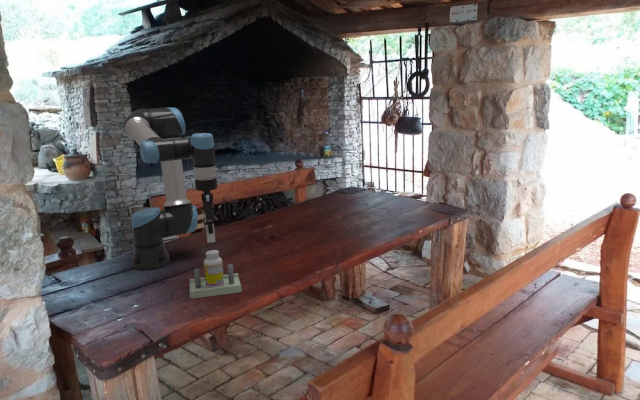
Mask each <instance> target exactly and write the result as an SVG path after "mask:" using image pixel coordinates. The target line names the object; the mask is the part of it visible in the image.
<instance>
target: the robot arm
mask: <svg viewBox="0 0 640 400" xmlns="http://www.w3.org/2000/svg"><path fill="white" fill-rule="evenodd" d="M122 126H123V131H124V134H125V135H126V136H127V137H128V138H129V139H130V140H132V141H135V142H136V144H137V145H138V146H139V153H140V158H141V161H142V162H143V163H145V164H156V163H160V166H161V173H162V180H163V185H164V194H165V200H166V201H165V202H164V204H163V210H161V209H160V208H159V207H157V206H156V207H155V206H153V207H147V208H142V209H140V210H137V211H136V212H134V213H133V214H132V216H131V217H130V218H131V228H132V237H133V244H134V250H133V255H132V259H131V265H132V268H133V269H135V270H139V271H148V270H156V269H160V268H163V267H165V266H167V265H168V264H169V263H170V261H171V259H170V254H169V252H168V251H167V249H166V246H165V244H164V238H169V237H174V236H175V237H176V236H180V235H187V234H190V233H194V232H195V231H196V230H197V228H198V223H199V222H198V221H199V219H198V218H199V217H198V216H199V214H198V209H197V207H196V206H195V205H193V204H192V201H191V200H190V199H188V195H187V190H186V188H187V187H186V182H185V176H184V169H183V167H184V166H183V162H182V161H183V160H189V159H192V163H193V166H192V167H193V178H194V179H195V180H194V187H195V191H197V192H202V193H201V201H202V205H203V206H202V207H203V212H204V222H203V226H205V231H206V238H207V239H206V240H207V244H208V243H209V244H211V243H216V232H215V221H214V209H213V207H214V194H213V192H212V191H214V190H216V189H218V181H217V180H218V179H217V171H218V170H219V169H218V168H217V167H216V153H215V152H216V150H215V141H214V136H213V134H212V133H207V132H200V133H199V132H198V133H193V134H192V135H191V136H190V135H189V136H185V137H183V135H185V134H186V123H185V120H184V116H183V114H182V112H181V111H180V109H178V108H176V107H157V108H155V107H154V108H140V109H137V110H134V111H132V112H131V113H130V114H128V115H127V116H126V118H125V119H124V121H123V125H122Z"/></svg>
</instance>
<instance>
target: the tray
mask: <svg viewBox="0 0 640 400" xmlns="http://www.w3.org/2000/svg"><path fill="white" fill-rule="evenodd" d="M193 274H194V276H193V278H190V279H189V299H190V300H192V299H199V298H200V299H201V298H206V297H207V298H208V297H215V296H223V295H230V294H238V293H243V292H242V284H241V281H240V278H239V273H234V264H231V263H230V264H227V274H223V275H224V284H223V285H222V286H221V287H214V288H209V287H207V286H206V281H205V276H204V277H201V272H200V268H199V267H197V268H196V267H195V268H194V269H193Z"/></svg>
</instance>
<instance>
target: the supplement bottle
mask: <svg viewBox="0 0 640 400" xmlns="http://www.w3.org/2000/svg"><path fill="white" fill-rule="evenodd" d="M219 255H220V252H219V250H218V249H212V250H207V251H205V259H204V260H203V268H204V277H205V281H206V286H207V287H209V288H214V287H221V286H222V285H223V284H224V275H225V274H224V265H223V259H222V257H220V256H219Z"/></svg>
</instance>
